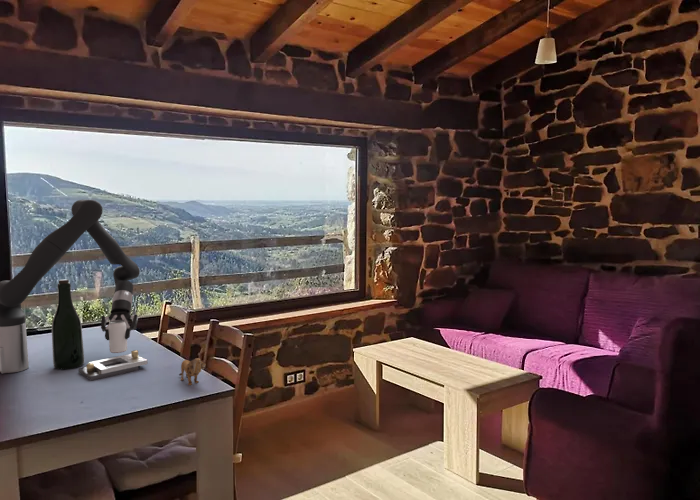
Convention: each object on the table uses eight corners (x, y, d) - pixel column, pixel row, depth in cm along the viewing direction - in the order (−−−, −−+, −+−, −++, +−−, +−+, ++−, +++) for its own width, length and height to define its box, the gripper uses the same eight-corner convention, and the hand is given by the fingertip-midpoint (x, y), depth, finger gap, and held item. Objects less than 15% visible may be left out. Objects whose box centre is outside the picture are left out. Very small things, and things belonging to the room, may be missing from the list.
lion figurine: (208, 383, 184) (207, 357, 183) (194, 388, 180) (193, 361, 179) (185, 374, 194) (184, 350, 193) (171, 378, 190) (170, 353, 189)
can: (130, 349, 220) (129, 319, 219) (122, 353, 214) (120, 323, 213) (115, 348, 221) (113, 319, 220) (106, 353, 214) (105, 323, 213)
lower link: (91, 380, 189) (90, 369, 188) (79, 372, 198) (78, 361, 198) (138, 370, 200) (137, 359, 200) (124, 362, 209) (124, 352, 209)
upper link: (101, 374, 191) (100, 362, 191) (88, 366, 200) (88, 355, 200) (147, 363, 202) (147, 353, 202) (133, 357, 212) (133, 346, 211)
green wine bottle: (71, 370, 200) (66, 281, 197) (46, 369, 202) (41, 281, 200) (90, 362, 211) (85, 277, 208) (66, 361, 213) (61, 277, 210)
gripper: (101, 299, 221) (95, 334, 211) (138, 297, 224) (134, 332, 214) (105, 309, 227) (99, 344, 216) (141, 308, 230) (137, 342, 219)
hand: (117, 338), depth 215 cm, fingers closed on can, 6 cm apart
